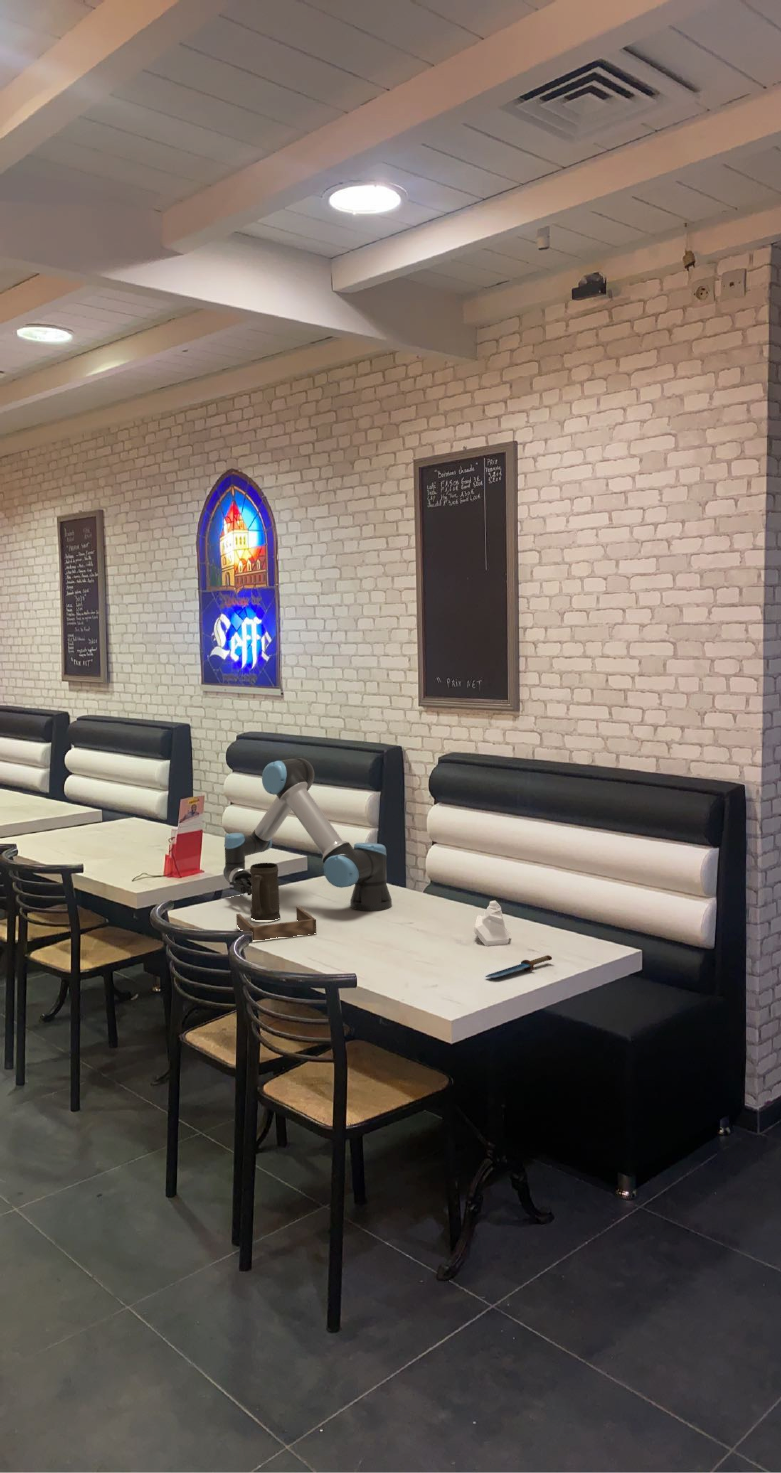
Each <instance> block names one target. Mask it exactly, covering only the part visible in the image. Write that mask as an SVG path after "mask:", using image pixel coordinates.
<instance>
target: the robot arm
mask: <svg viewBox="0 0 781 1473" xmlns="http://www.w3.org/2000/svg"><path fill="white" fill-rule="evenodd" d="M261 776H262V778H261V783H262V787H263V789H264V790H265V791H266V792H267V793H268V794H269V795H274V796H276V797H275V799H274V800H273V802H272V803H271V805H270V806H269V808H268V809H267V811H266V812H265V814H264V815H263V816H262V818H261V819H260V820H259V822H258V824H257V825H256V827H255V828H254V830H252V832H251V834H249V835H244V833H241V832H231V833H228V834H226V835H225V836H224V861H225V862H224V863H225V864H224V868H223V874H222V875H223V876H224V879H225V880H226V881H227V882H228V883H229V890H233V891H236V892H238V893H241V894H243V895H245V894H247V896H252V887H251V873H250V871H248V870H247V869H246V857H247V856H250V855H254V854H258V853H263V852H265V851H266V852H267V850H270V849H271V848H272V846H273V837H274V835H275V834H276V833H277V831H278V830H279V829H280V828H281V826H282V824H283V823H284V821H285V820H286V818H287V817H288V815H289V814H290V813H291V811H292V812H293V813H294V815H295V817H296V818H297V820H298V821H299V822H300V824H301V825H302V826H303V828H304V829H305V831H306V832H307V834H308V836H309V837H310V838H311V839H312V842H314V844H315V846H316V847H317V848H318V850H319V852H321V854H322V859H321V862H322V863H323V870H324V871H323V875H324V877H325V879H326V880H327V882H328V883H329V884H330V885H332V886H334V887H335V888H341V889H342V888H350V887H352V886H353V890H352V894H351V898H350V901H349V902H350V903H349V904H350V908H352V909H354V910H358V911H364V912H366V911H367V912H368V911H369V912H374V911H375V912H376V911H382V910H387V909H389V908H391V907H392V906H393V904H392V903H393V902H392V897H391V894H390V890H389V888H388V883H387V882H388V881H387V848H386V846H385V845H383V844H381V843H373V842H372V843H371V842H356V843H355V844H354V845H353V846H352V845H351V843H350V842H349V841H344V840H343V839H342V838H341V836H340V835H339V834H338V832H337V831H336V829H335V828H334V827H333V825H332V824H331V822H330V821H329V820H328V818H327V816H326V815H325V814H324V812H323V810H322V809H321V808H320V807H319V805H318V804H317V802H316V801H315V800H314V798H313V797H312V796H311V795H312V794H310V792H309V790H310V788H311V787H312V785H313V783H314V780H315V770H314V768H313V765H312V764H311V763H310V762H309V761H308V760H307V759H305V758H300V757H294V758H293V757H292V758H289V759H284V760H283V759H282V760H275V761H272V762H269V763H268V764H267V765H266V766H265V767H264V769H263V771H262V775H261Z"/></svg>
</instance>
